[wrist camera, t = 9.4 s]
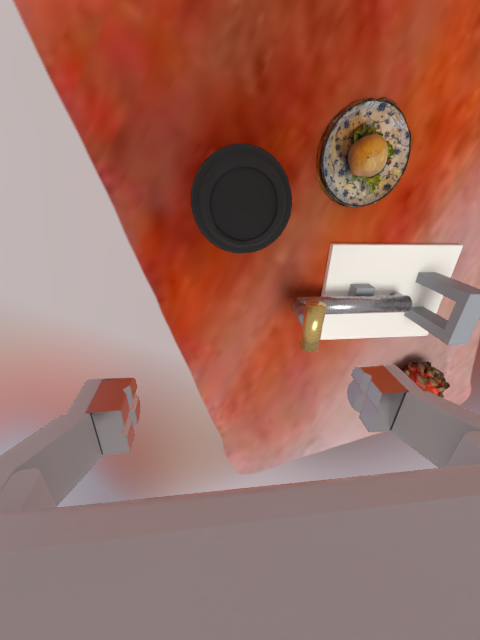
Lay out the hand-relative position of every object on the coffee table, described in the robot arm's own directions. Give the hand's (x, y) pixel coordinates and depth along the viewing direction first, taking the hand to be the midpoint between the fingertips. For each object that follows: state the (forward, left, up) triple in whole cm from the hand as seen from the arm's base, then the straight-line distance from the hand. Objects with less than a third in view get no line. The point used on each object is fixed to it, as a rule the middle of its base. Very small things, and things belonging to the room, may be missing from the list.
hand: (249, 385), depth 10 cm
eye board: (+9, +27, -31) cm, 42 cm away
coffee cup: (-5, +2, -31) cm, 32 cm away
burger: (-10, +19, -32) cm, 38 cm away
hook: (+9, +20, -30) cm, 37 cm away
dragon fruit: (+27, +38, -31) cm, 56 cm away
